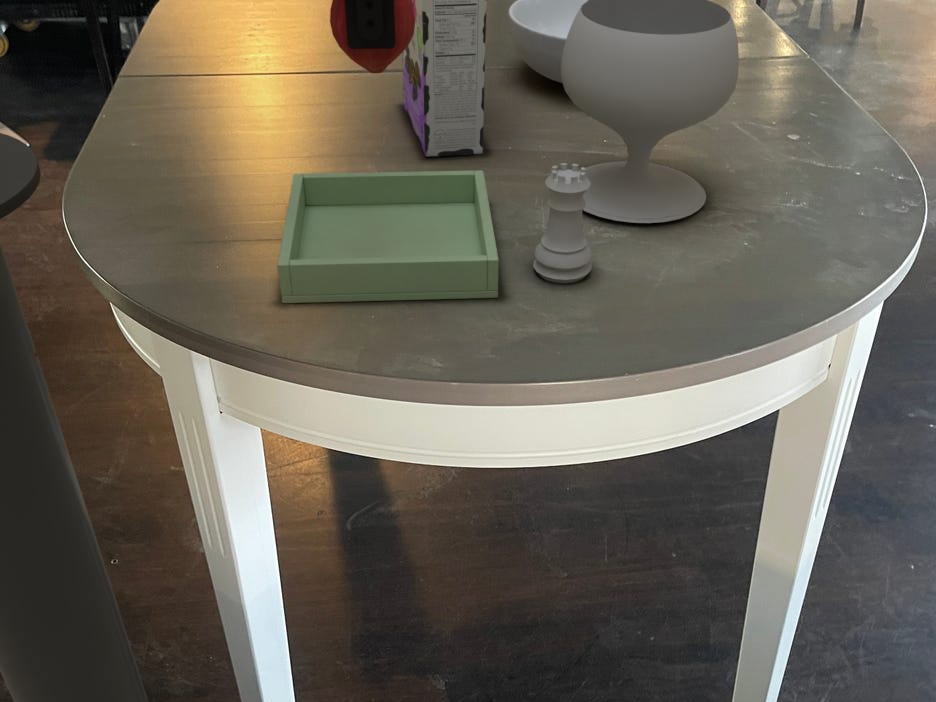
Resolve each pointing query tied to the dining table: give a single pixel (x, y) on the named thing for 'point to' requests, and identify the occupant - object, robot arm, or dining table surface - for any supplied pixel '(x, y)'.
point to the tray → (388, 237)
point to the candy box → (446, 76)
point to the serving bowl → (542, 32)
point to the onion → (375, 58)
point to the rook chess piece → (564, 228)
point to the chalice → (648, 94)
